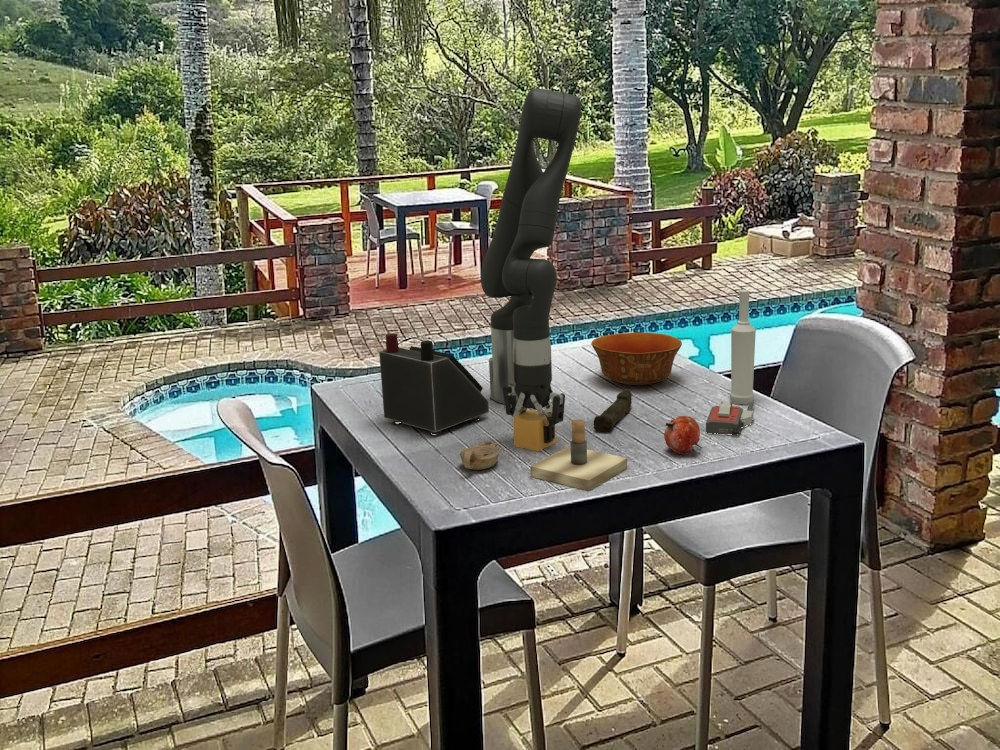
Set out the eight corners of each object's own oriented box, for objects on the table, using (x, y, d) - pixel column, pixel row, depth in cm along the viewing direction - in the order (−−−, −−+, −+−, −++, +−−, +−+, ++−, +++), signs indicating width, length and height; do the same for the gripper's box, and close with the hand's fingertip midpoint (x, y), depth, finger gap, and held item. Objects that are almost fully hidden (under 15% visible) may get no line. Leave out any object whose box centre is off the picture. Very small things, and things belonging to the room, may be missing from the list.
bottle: (749, 406, 229) (752, 293, 222) (726, 403, 232) (728, 292, 225) (757, 399, 233) (760, 289, 226) (734, 397, 236) (736, 287, 229)
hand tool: (611, 435, 216) (611, 413, 215) (592, 432, 218) (592, 411, 216) (642, 408, 232) (642, 388, 231) (624, 406, 234) (625, 386, 233)
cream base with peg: (530, 476, 195) (528, 425, 193) (570, 455, 205) (568, 406, 202) (589, 490, 188) (588, 437, 185) (627, 468, 197) (627, 417, 194)
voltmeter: (490, 418, 229) (486, 328, 224) (435, 438, 218) (429, 345, 212) (439, 404, 240) (433, 319, 234) (384, 423, 228) (377, 334, 223)
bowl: (619, 365, 265) (619, 326, 262) (696, 376, 253) (697, 336, 250) (575, 386, 249) (574, 345, 246) (656, 399, 237) (656, 356, 234)
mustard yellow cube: (514, 445, 211) (513, 417, 210) (531, 437, 216) (530, 409, 214) (538, 451, 208) (537, 422, 206) (555, 442, 212) (555, 414, 211)
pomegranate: (686, 453, 210) (647, 428, 207) (709, 425, 208) (671, 400, 205) (696, 470, 203) (657, 445, 200) (720, 441, 201) (681, 416, 198)
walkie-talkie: (748, 440, 210) (756, 409, 228) (748, 419, 209) (756, 390, 227) (703, 437, 213) (715, 407, 231) (703, 417, 212) (715, 388, 230)
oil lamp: (475, 453, 209) (474, 429, 207) (510, 457, 206) (509, 432, 204) (447, 476, 197) (446, 452, 196) (484, 481, 194) (482, 456, 193)
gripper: (491, 358, 208) (495, 438, 213) (551, 368, 200) (553, 451, 204) (514, 350, 214) (517, 427, 219) (573, 359, 205) (575, 440, 210)
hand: (535, 438), depth 212 cm, fingers open, 6 cm apart
